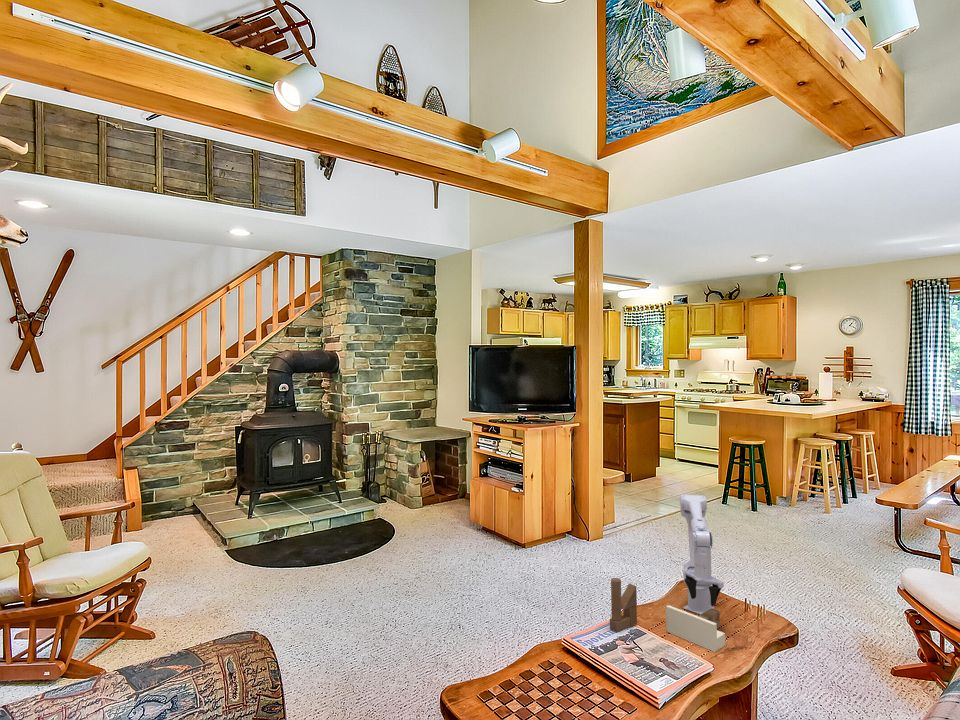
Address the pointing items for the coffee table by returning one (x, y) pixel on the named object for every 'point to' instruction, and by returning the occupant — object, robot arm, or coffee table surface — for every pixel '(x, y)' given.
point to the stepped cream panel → (694, 629)
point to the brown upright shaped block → (623, 606)
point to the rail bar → (712, 616)
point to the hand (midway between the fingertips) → (703, 601)
